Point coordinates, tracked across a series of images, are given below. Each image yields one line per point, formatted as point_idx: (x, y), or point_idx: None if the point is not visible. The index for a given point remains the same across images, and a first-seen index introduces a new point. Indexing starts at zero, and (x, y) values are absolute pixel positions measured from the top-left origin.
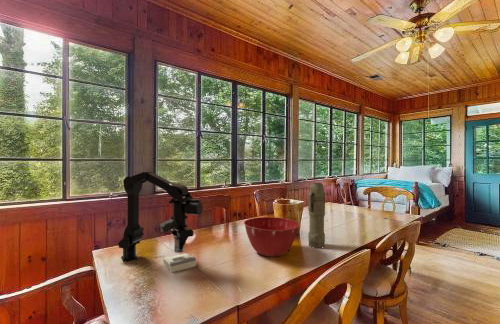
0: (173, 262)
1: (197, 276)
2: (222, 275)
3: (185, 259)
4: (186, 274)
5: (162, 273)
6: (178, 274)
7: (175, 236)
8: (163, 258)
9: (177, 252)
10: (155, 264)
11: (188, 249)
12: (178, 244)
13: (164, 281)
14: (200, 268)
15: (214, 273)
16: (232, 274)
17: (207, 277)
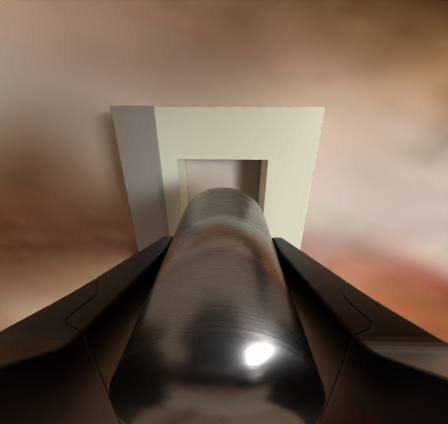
0: (128, 130)
1: (32, 212)
2: (14, 295)
3: (148, 224)
4: (75, 175)
5: (148, 43)
6: (91, 136)
7: (206, 347)
8: (323, 107)
9: (189, 204)
10: (338, 46)
11: (396, 300)
12: (164, 258)
13: (10, 10)
14: (122, 256)
15: (44, 280)
16: (14, 322)
17: (8, 243)
